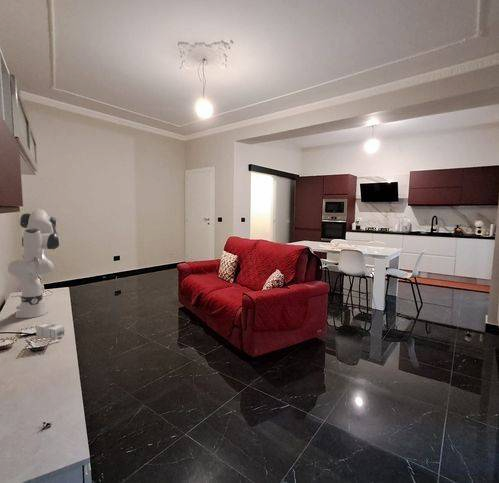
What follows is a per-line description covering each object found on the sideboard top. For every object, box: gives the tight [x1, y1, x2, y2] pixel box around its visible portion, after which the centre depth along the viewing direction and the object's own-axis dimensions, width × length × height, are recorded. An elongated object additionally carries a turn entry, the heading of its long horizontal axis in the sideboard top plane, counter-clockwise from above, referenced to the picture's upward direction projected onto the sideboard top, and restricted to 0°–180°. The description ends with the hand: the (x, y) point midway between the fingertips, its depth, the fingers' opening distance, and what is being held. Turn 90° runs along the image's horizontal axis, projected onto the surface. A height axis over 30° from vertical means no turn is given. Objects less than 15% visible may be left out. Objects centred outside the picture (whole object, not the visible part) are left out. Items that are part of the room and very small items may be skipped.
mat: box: [25, 335, 61, 345], centre depth 166 cm, size 16×12×1 cm
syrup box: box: [35, 323, 65, 339], centre depth 171 cm, size 6×6×14 cm
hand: (33, 279), depth 173 cm, fingers closed
